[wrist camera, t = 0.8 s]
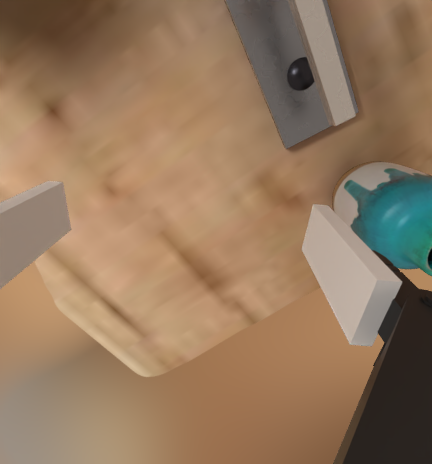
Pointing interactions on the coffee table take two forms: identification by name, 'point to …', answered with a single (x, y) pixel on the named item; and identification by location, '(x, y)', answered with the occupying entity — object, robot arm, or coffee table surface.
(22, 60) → the coffee table surface
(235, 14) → the flange plate
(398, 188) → the vase
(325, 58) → the bar
